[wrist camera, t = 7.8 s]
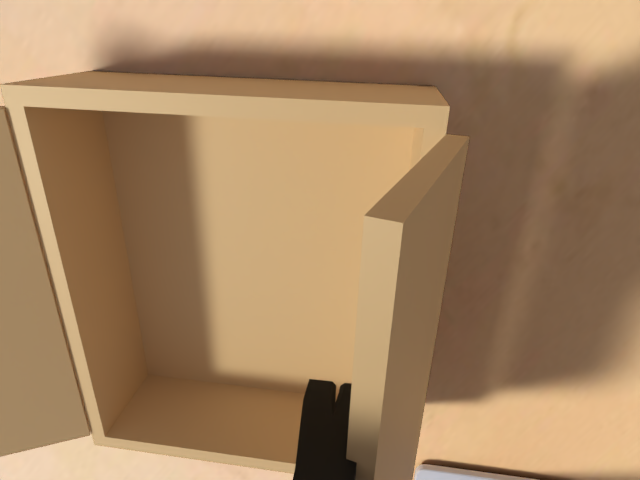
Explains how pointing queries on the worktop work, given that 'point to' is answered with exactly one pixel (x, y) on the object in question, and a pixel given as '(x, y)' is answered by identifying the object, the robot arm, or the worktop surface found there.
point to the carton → (210, 243)
